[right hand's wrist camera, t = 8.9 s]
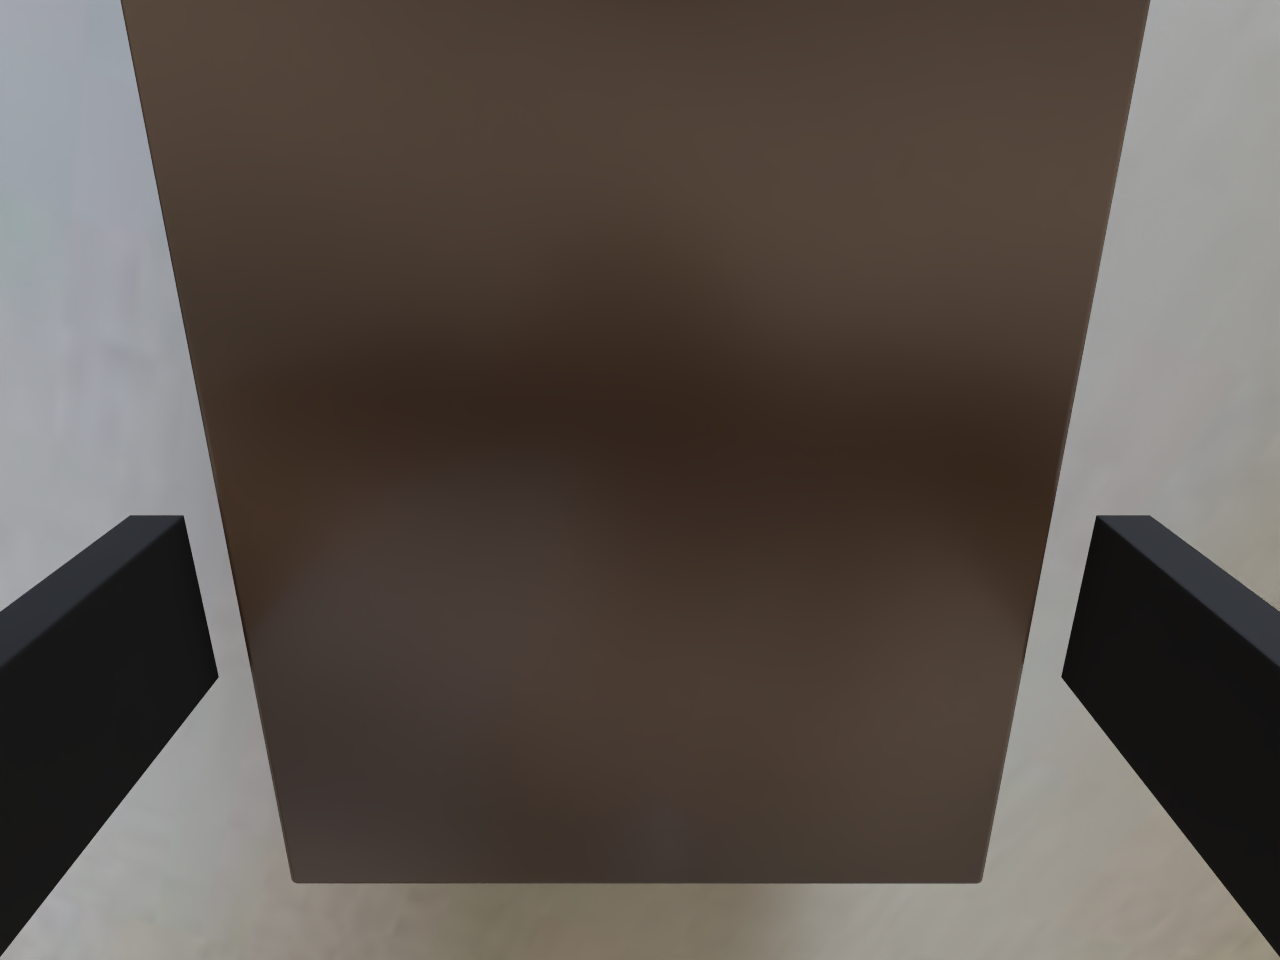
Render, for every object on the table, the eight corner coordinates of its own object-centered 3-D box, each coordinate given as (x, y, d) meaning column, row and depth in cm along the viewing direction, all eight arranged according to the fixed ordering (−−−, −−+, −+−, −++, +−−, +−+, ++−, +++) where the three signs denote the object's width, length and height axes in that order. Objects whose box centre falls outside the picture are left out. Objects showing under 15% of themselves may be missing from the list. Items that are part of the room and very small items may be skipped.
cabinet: (328, -173, 16) (21, -486, 8) (946, -173, 16) (1248, -486, 8) (415, 621, 22) (290, 885, 14) (860, 621, 22) (983, 886, 14)
